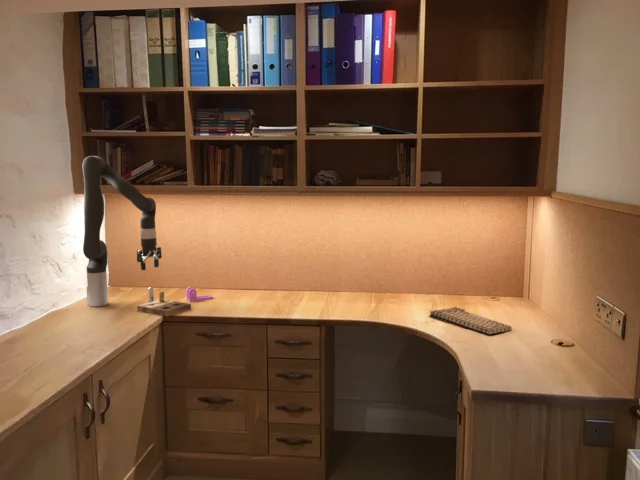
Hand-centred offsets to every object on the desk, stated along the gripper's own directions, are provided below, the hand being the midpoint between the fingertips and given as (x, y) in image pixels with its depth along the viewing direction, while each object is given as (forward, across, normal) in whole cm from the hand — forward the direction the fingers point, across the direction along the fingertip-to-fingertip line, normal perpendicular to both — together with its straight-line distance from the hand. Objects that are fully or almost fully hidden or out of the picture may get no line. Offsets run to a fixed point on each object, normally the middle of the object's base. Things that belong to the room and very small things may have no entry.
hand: (150, 268), depth 273 cm
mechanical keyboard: (+20, -47, +151) cm, 159 cm away
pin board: (+19, +5, +14) cm, 24 cm away
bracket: (+19, -20, +15) cm, 31 cm away
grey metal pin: (+19, 0, 0) cm, 19 cm away
